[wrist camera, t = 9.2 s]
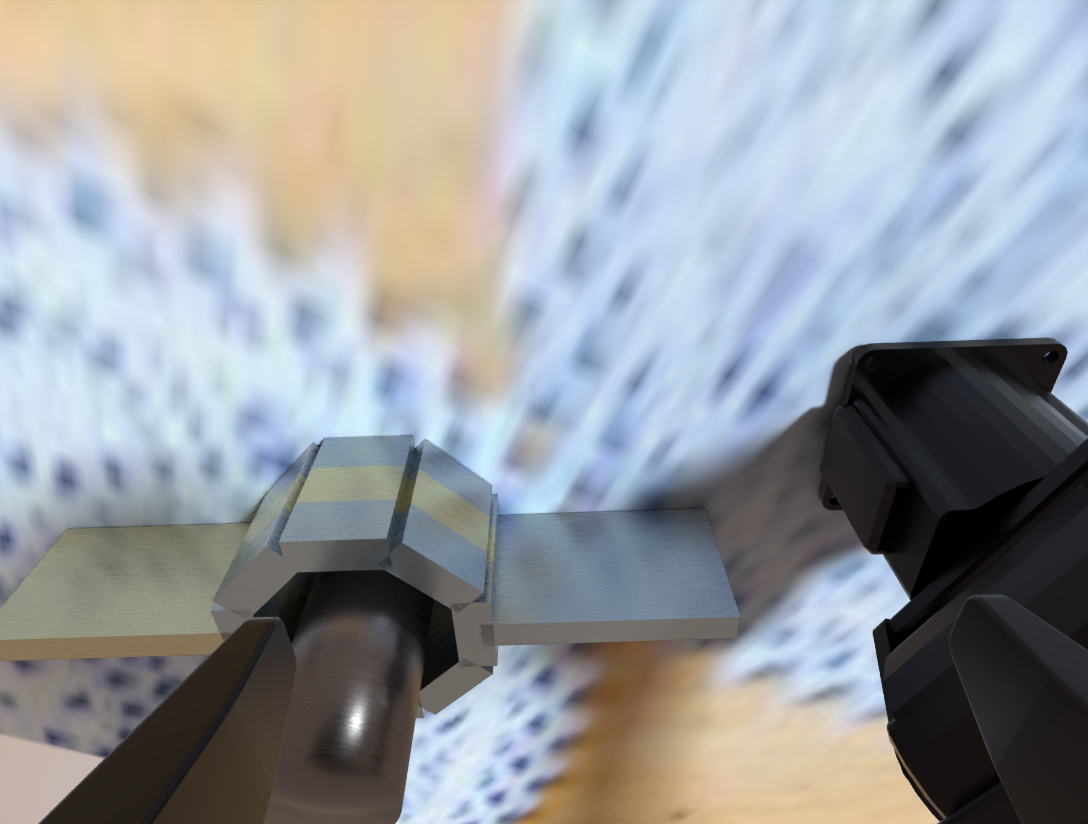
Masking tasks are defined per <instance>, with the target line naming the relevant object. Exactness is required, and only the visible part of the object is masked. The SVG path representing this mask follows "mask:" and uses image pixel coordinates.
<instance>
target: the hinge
mask: <svg viewBox="0 0 1088 824" xmlns="http://www.w3.org/2000/svg"><path fill="white" fill-rule="evenodd" d="M491 493H492V485H491V484H489V483H488V482H486V481H485V480H484V479H482V478H481V477H479V476H478V475H476V474H475V473H474V472H472V471H471V470H469V469H468V468H466V467H465V466H464V465H462V464H461V463H459V462H458V461H456V460H455V459H454V458H452V457H451V456H449V455H448V454H446V453H445V452H444V451H442V450H441V449H439V448H438V447H436V446H435V445H433V444H432V443H431V442H429V441H428V440H426V439H425V440H424V441H423V442H422V443H421V444H420V445H419V446H418V447H417V448H416V449H415V445H414V439H413V435H405V436H374V437H343V438H324V440H323V443H322V445H321V447H320V446H318V445H317V444H315V443H313V444H312V445H311V446H310V447H309V448H308V449H307V450H306V451H305V452H304V453H303V454H302V456H301V457H300V458H299V459H298V460H297V461H296V462H295V463H294V464H293V465H292V466H291V467H290V468H289V470H288V471H287V472H286V473H285V474H284V475H283V476H282V477H281V478H280V479H279V480H278V481H277V482H276V484H275V485H274V486H273V487H272V488H271V489H270V490H269V491H268V492H267V494H266V496H265V498H264V500H263V502H262V504H261V506H260V508H259V509H258V511H257V513H256V515H255V517H254V519H253V521H252V523H235V524H204V525H172V526H141V527H110V528H78V529H66V530H65V532H64V533H63V534H62V535H61V536H60V538H59V539H58V540H57V541H56V542H55V544H54V545H53V546H52V547H51V548H50V550H49V551H48V552H47V553H46V554H45V556H44V557H43V558H42V559H41V560H40V562H39V563H38V564H37V565H36V566H35V568H34V569H33V570H32V571H31V572H30V574H29V575H28V576H27V577H26V578H25V580H24V581H23V582H22V583H21V584H20V586H19V587H18V588H17V589H16V590H15V592H14V593H13V594H12V595H11V596H10V598H9V599H8V600H7V601H6V602H5V604H4V605H3V606H2V607H1V608H0V661H19V660H51V659H83V658H115V657H147V656H179V655H210V654H211V653H212V652H213V651H214V650H215V649H216V648H217V647H218V646H219V645H220V644H221V643H223V642H224V641H225V640H226V639H227V638H228V637H229V636H230V635H231V634H232V633H233V632H234V631H235V630H236V629H237V628H238V627H239V626H240V625H241V624H242V623H243V622H244V621H246V620H247V619H250V618H254V617H278V618H280V619H281V620H282V621H283V623H284V625H285V628H286V631H287V634H288V637H289V639H290V642H291V643H292V640H293V638H294V635H295V632H296V629H297V626H298V623H299V621H300V618H301V615H302V612H303V609H304V607H305V604H306V601H307V598H308V595H309V593H310V590H311V587H312V584H313V581H314V579H315V576H316V573H317V572H322V571H353V570H386V571H387V572H389V573H391V574H392V575H394V576H396V577H398V578H399V579H401V580H403V581H404V582H406V583H408V584H409V585H411V586H413V587H415V588H416V589H418V590H420V591H421V592H423V593H425V594H426V595H428V596H430V597H432V598H433V599H434V603H433V609H432V616H431V622H430V629H429V635H428V642H427V648H426V655H425V661H424V668H423V674H422V681H421V687H420V694H419V700H418V707H417V713H416V718H424V715H425V710H427V711H429V712H431V713H433V714H435V715H436V714H437V713H438V712H440V711H441V710H443V709H444V708H445V707H447V706H448V705H450V704H451V703H452V702H454V701H455V700H457V699H458V698H460V697H461V696H462V695H464V694H465V693H467V692H468V691H469V690H471V689H472V688H474V687H475V686H476V685H478V684H479V683H481V682H482V681H483V680H485V679H486V678H488V677H489V676H491V675H492V674H493V666H497V660H498V646H499V645H530V644H562V643H594V642H626V641H658V640H690V639H722V638H736V637H737V632H738V626H739V621H740V614H739V611H738V608H737V605H736V602H735V599H734V595H733V592H732V589H731V586H730V583H729V580H728V577H727V574H726V571H725V568H724V564H723V561H722V558H721V555H720V552H719V549H718V546H717V543H716V540H715V537H714V533H713V530H712V527H711V524H710V521H709V518H708V515H707V512H706V509H675V510H643V511H612V512H581V513H549V514H518V515H499V505H498V494H491Z"/></svg>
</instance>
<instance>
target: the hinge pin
mask: <svg viewBox="0 0 1088 824" xmlns="http://www.w3.org/2000/svg"><path fill="white" fill-rule="evenodd" d="M433 603H434V599H433V598H432V597H430V596H428V595H426V594H425V593H423V592H421V591H420V590H418V589H416V588H415V587H413V586H411V585H409V584H408V583H406V582H404V581H403V580H401V579H399V578H398V577H396V576H394V575H392V574H391V573H389V572H387V571H386V570H353V571H322V572H317V573H316V576H315V579H314V581H313V584H312V587H311V590H310V593H309V595H308V598H307V601H306V604H305V607H304V609H303V612H302V615H301V618H300V621H299V623H298V626H297V629H296V632H295V635H294V638H293V640H292V643H291V645H292V648H293V651H294V654H295V657H296V674H295V680H294V685H293V690H292V696H291V701H290V706H289V711H288V717H287V722H286V727H285V732H284V738H283V743H282V748H281V753H280V759H279V764H278V769H277V774H276V779H275V783H274V788H273V792H272V796H271V800H270V803H269V807H268V811H267V814H266V817H265V820H264V824H395V823H396V822H397V820H398V819H399V817H400V814H401V811H402V804H403V798H404V791H405V785H406V778H407V772H408V765H409V759H410V752H411V746H412V739H413V733H414V726H415V720H416V713H417V707H418V700H419V694H420V687H421V681H422V674H423V668H424V661H425V655H426V648H427V642H428V635H429V629H430V622H431V616H432V609H433Z"/></svg>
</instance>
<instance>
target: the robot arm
mask: <svg viewBox="0 0 1088 824" xmlns="http://www.w3.org/2000/svg"><path fill="white" fill-rule="evenodd" d="M1048 352H1050V353H1049V354H1048V356H1046V357H1045V358H1042V357H1043V356H1044V355H1045V354H1046V353H1048ZM871 357H876V358H875V360H874V361H873V362H872V363H871V364H867V365H865V363H866V361H867V360H868V359H869V358H871ZM1066 357H1067V349H1066V347H1065V346H1063V345H1062V344H1061V343H1059V342H1058V341H1056V340H1055V339H1053V338H1026V339H996V340H965V341H934V342H903V343H873V344H867V345H864V346H862V347H860V348H859V349H858V350H857V351H856V352H855V353H854V355H853V357H852V360H851V364H850V368H849V372H848V376H847V380H846V384H845V388H844V392H843V396H842V400H841V404H840V406H838V407H837V409H836V410H835V411H834V412H833V416H832V420H831V425H830V429H829V433H828V437H827V441H826V445H825V449H824V453H823V458H822V462H821V466H820V471H821V473H822V474H823V477H822V481H821V485H820V489H819V499H820V500H821V502H822V504H823V506H824V507H825V508H826V509H828V510H843V511H844V513H845V514H846V516H847V518H848V520H849V521H850V523H851V525H852V526H853V528H854V530H855V532H856V533H857V535H858V537H859V539H860V540H861V542H862V544H863V546H864V547H865V548H866V549H867V550H868V551H869V552H870V553H871V554H883V555H884V557H885V559H886V560H887V562H888V564H889V565H890V567H891V569H892V570H893V572H894V574H895V575H896V577H897V579H898V580H899V582H900V584H901V585H902V587H903V589H904V590H905V592H906V594H907V595H908V597H909V599H910V600H911V601H910V602H909V603H908V604H906V605H905V606H904V607H903V608H902V609H901V610H900V611H899V612H898V613H897V614H896V615H894V616H893V617H892V618H891V619H885V620H884V621H882V622H881V623H880V624H879V625H878V626H877V627H876V628H875V629H874V630H873V637H874V643H875V649H876V654H877V660H878V666H879V671H880V677H881V683H882V688H883V694H884V699H885V705H886V711H887V716H888V722H889V723H888V724H887V731H888V736H889V740H890V742H891V744H892V745H893V747H894V750H895V754H896V757H897V759H898V761H899V763H900V766H901V769H902V772H903V774H904V775H905V777H906V778H907V779H908V781H909V782H910V784H911V785H912V787H913V789H914V790H915V792H916V793H917V795H918V796H919V797H920V799H921V800H922V801H923V803H924V804H925V805H926V806H927V808H928V809H929V810H930V811H931V813H932V814H933V815H934V816H935V817H936V818H937V819H938V820H939V821H940V822H939V823H937V824H1088V423H1087V422H1086V421H1084V420H1083V419H1082V418H1081V417H1079V416H1078V415H1077V414H1076V413H1074V412H1073V411H1072V410H1071V409H1070V408H1068V407H1067V406H1066V405H1065V404H1063V403H1062V402H1061V401H1060V400H1059V399H1057V398H1056V397H1055V396H1054V395H1052V394H1051V391H1052V389H1053V387H1054V384H1055V382H1056V380H1057V378H1058V375H1059V373H1060V371H1061V369H1062V366H1063V364H1064V362H1065V360H1066ZM833 495H835V497H833V498H831V497H832V496H833ZM295 674H296V657H295V654H294V651H293V648H292V645H291V642H290V639H289V637H288V634H287V631H286V628H285V625H284V623H283V621H282V620H281V619H280V618H278V617H254V618H250V619H247V620H246V621H244V622H243V623H242V624H241V625H240V626H239V627H238V628H237V629H236V630H235V631H234V632H233V633H232V634H231V635H230V636H229V637H228V638H227V639H226V640H225V641H224V642H223V643H221V644H220V645H219V646H218V647H217V648H216V649H215V650H214V651H213V652H212V653H211V654H210V655H209V656H208V657H207V658H206V659H205V660H204V661H203V662H202V663H201V664H200V665H199V666H198V667H197V668H196V669H195V670H194V671H193V672H192V673H191V674H190V675H189V676H188V677H187V678H186V679H185V680H184V681H183V682H182V683H181V684H180V685H179V686H178V687H177V688H176V689H175V690H174V691H173V692H172V693H171V694H170V695H169V696H168V697H167V698H166V699H165V700H164V701H163V702H162V703H161V704H160V705H159V706H157V707H156V708H155V709H154V710H153V711H152V712H151V713H150V714H149V715H148V716H147V717H146V718H145V719H144V720H143V721H142V722H141V723H140V724H139V725H138V726H137V727H136V728H135V729H134V730H133V731H132V732H131V733H130V734H129V735H128V736H127V737H126V738H125V739H124V740H123V741H122V742H121V743H120V744H119V745H118V746H117V747H116V748H115V749H114V750H113V751H112V752H111V753H110V754H109V755H108V756H107V757H106V758H105V759H104V760H103V761H102V762H101V763H100V764H99V765H98V766H97V767H96V768H94V770H93V771H92V772H91V773H89V774H88V775H87V777H85V778H84V779H83V780H82V781H81V782H80V783H79V784H78V785H77V786H76V787H75V788H74V789H73V790H72V791H71V792H70V793H69V794H68V795H67V796H66V797H65V798H64V799H63V800H62V801H61V802H60V803H59V804H58V805H57V806H56V807H55V808H54V809H53V810H52V811H51V812H50V813H49V814H48V815H47V816H46V817H45V818H44V819H43V820H42V821H41V822H40V823H39V824H264V820H265V817H266V814H267V811H268V807H269V803H270V800H271V796H272V792H273V788H274V783H275V779H276V774H277V769H278V764H279V759H280V753H281V748H282V743H283V738H284V732H285V727H286V722H287V717H288V711H289V706H290V701H291V696H292V690H293V685H294V680H295Z"/></svg>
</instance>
